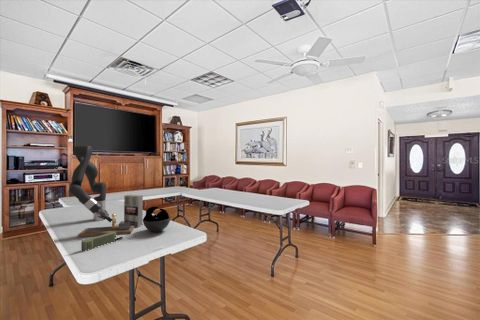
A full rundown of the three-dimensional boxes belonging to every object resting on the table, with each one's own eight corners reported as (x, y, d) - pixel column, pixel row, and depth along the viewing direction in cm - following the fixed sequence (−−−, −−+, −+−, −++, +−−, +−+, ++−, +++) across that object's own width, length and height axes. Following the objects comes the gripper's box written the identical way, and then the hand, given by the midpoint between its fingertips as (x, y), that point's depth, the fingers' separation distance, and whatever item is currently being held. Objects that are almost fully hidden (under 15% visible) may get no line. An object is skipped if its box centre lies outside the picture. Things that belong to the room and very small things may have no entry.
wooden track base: (85, 231, 174) (85, 226, 174) (134, 227, 183) (134, 223, 183) (78, 237, 161) (78, 232, 161) (130, 233, 170) (130, 228, 170)
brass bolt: (112, 228, 174) (112, 213, 174) (124, 228, 177) (124, 212, 176) (111, 230, 171) (111, 214, 171) (123, 229, 174) (123, 213, 173)
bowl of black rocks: (143, 228, 183) (143, 204, 182) (169, 226, 190) (169, 203, 189) (142, 236, 164) (142, 210, 164) (171, 233, 171) (171, 208, 171)
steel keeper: (120, 227, 177) (120, 221, 177) (130, 227, 179) (130, 220, 179) (118, 230, 171) (118, 223, 171) (129, 229, 173) (129, 223, 173)
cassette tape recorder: (123, 226, 188) (123, 195, 188) (128, 223, 194) (128, 194, 194) (137, 227, 185) (137, 196, 185) (142, 225, 191) (142, 195, 191)
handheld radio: (80, 250, 139) (121, 238, 160) (83, 252, 138) (123, 239, 159) (80, 240, 139) (121, 229, 160) (83, 241, 137) (123, 230, 158)
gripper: (93, 203, 163) (112, 219, 167) (99, 200, 176) (117, 215, 180) (85, 211, 162) (104, 227, 166) (92, 207, 175) (109, 222, 178)
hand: (111, 221), depth 173 cm, fingers closed
